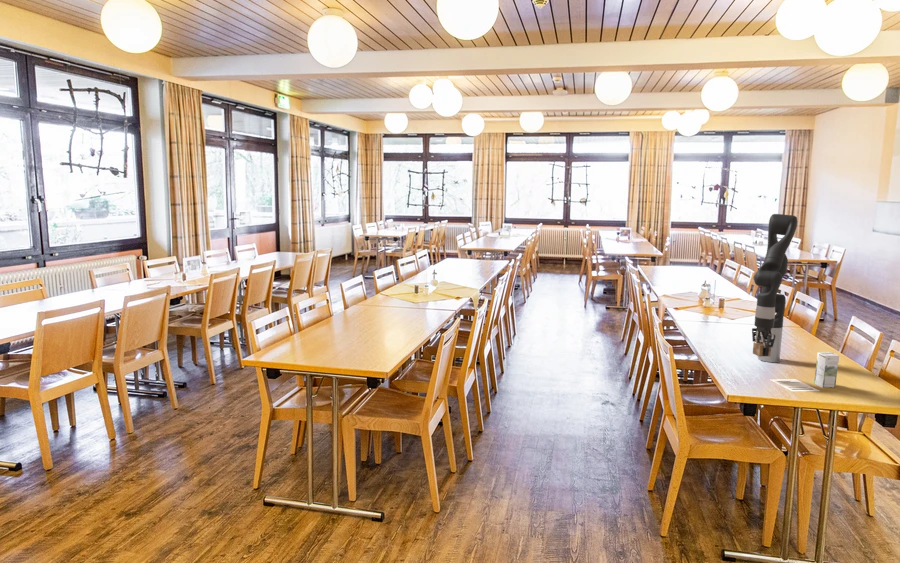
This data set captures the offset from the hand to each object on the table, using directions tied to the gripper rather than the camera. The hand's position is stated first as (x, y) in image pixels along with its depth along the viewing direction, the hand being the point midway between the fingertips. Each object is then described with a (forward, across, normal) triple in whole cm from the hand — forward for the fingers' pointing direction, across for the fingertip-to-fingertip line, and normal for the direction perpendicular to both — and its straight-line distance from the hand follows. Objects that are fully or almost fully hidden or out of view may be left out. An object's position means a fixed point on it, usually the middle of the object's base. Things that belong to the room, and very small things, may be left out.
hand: (761, 354), depth 256 cm
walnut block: (0, 0, 0) cm, 0 cm away
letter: (+12, +9, +10) cm, 18 cm away
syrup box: (+12, +10, +23) cm, 28 cm away
